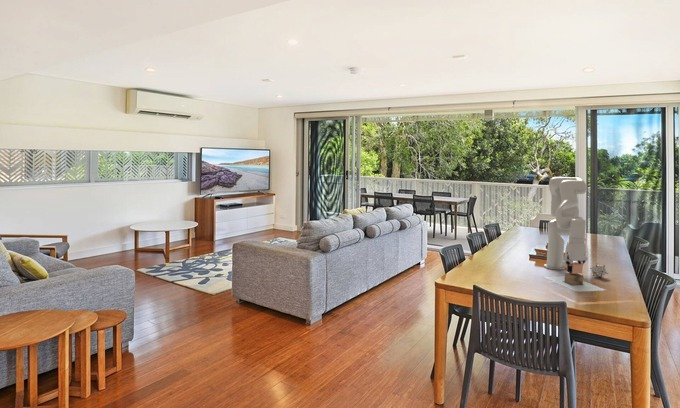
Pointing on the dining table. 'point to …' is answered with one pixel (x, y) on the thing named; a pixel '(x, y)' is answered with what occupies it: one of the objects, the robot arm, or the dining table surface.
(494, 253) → the dining table surface
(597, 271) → the grey spiky ball
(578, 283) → the walnut block
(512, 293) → the dining table surface
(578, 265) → the terracotta block
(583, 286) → the blueprint board
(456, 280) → the dining table surface
